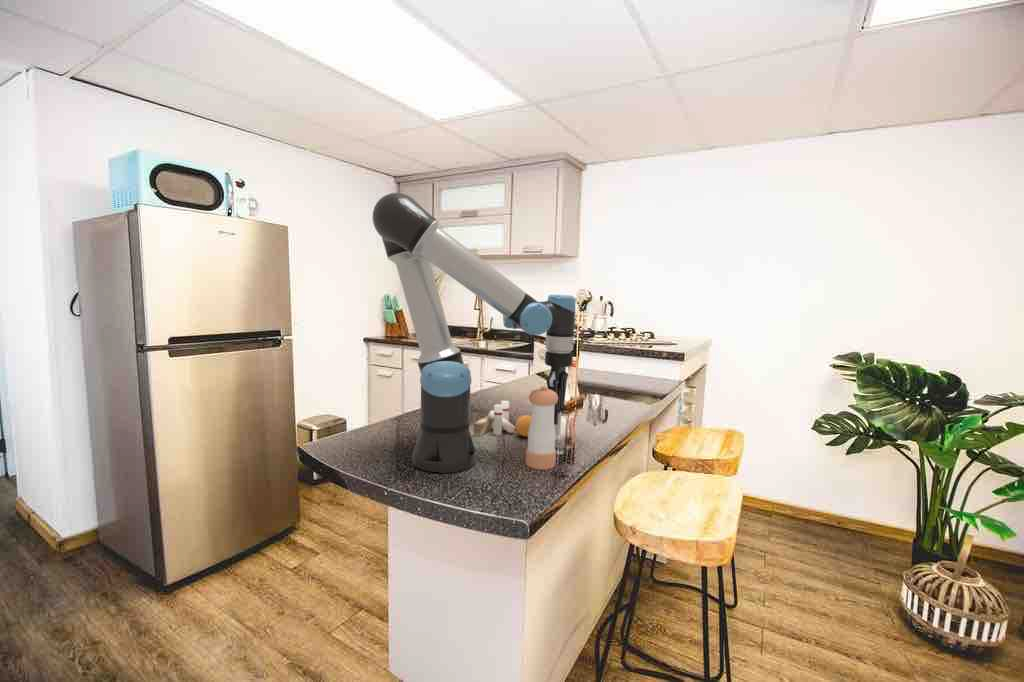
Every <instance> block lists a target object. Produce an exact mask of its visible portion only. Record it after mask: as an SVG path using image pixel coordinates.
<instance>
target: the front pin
mask: <svg viewBox="0 0 1024 682" xmlns="http://www.w3.org/2000/svg"><path fill="white" fill-rule="evenodd" d="M486 416H487V417H489V418H490V419H491V420H492V421H494V409H492V410H490V411H489V413H488V414H487V415H486ZM502 428H504V429H505V430H506V431H507V433H509V434H513V432H514V430H516V425H513V424H512V423H511V422H510V421H509V422H508V421H507V420H505V419H504V418H503V417H502ZM506 431H505V432H506Z"/></svg>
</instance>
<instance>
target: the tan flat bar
mask: <svg viewBox="0 0 1024 682" xmlns="http://www.w3.org/2000/svg"><path fill="white" fill-rule="evenodd" d="M487 416H488V415H486V416H484V417H482V418H481V419H479V420H477V421H476V422H474V423H473V434H472V435H473V436H475V437H479V438H480V437H481V436H483V435H485V433H487V432H489V431H491V430H492V429H493V428H494V421H492V420H491V419H490V418H489V417H487Z"/></svg>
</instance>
